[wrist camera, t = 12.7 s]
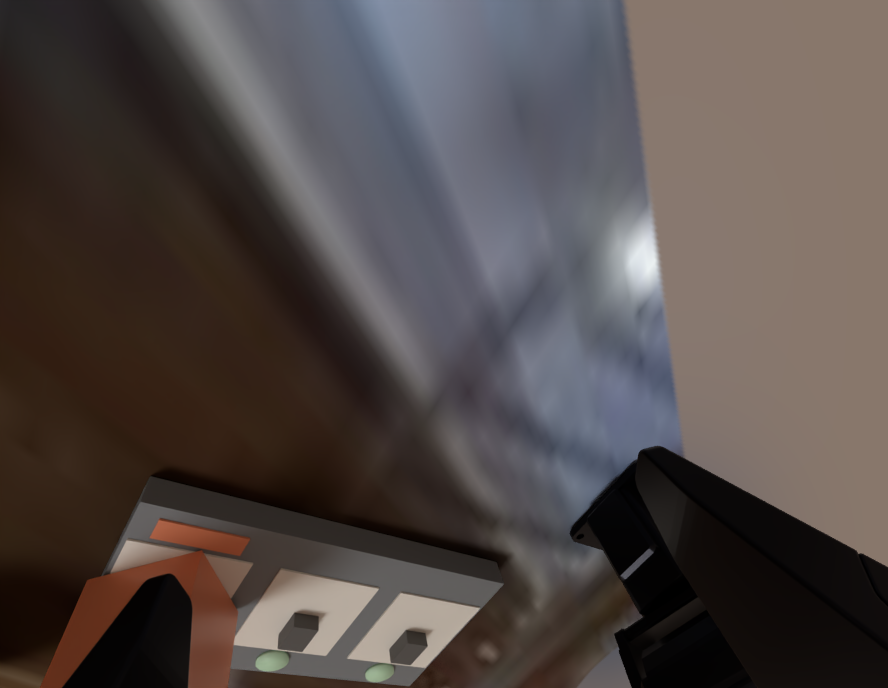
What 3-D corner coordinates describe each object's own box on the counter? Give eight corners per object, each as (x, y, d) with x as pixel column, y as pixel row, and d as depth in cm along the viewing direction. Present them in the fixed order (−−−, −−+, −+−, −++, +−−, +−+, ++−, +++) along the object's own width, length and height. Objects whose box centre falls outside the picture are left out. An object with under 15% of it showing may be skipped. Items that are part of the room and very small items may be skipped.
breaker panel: (496, 562, 31) (508, 597, 29) (406, 662, 34) (411, 700, 32) (150, 476, 22) (133, 518, 20) (78, 622, 26) (57, 671, 24)
